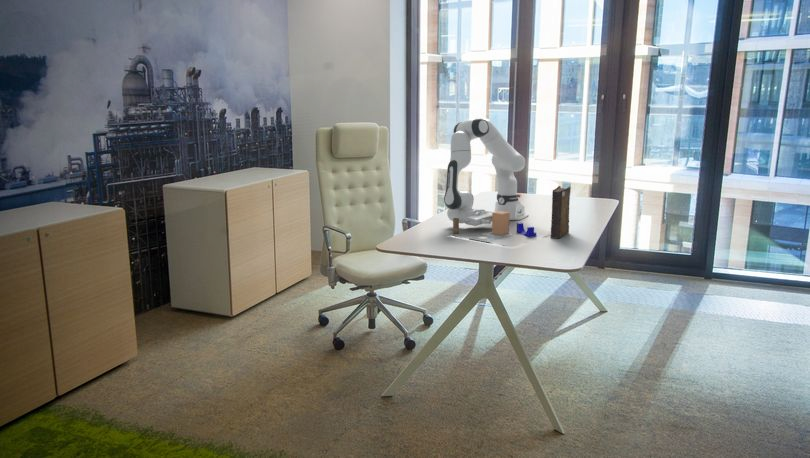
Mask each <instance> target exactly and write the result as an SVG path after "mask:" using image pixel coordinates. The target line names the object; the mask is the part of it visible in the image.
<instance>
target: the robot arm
mask: <svg viewBox="0 0 810 458" xmlns="http://www.w3.org/2000/svg"><path fill="white" fill-rule="evenodd" d="M475 139H479V140H480V141H481V142H482V144H483V145H484V147H485V148H486V149H487V151H488V152H489V153H490V154H492V157H491V164H492V165H493V168H494V170H495V172H496V173H495V174H496V176H497V177H496V178H497V194H496V202H495V205H494V211H487V210H486V209H477V208H476V209H475V208H473V205H474V199H475V198H474V195H473V193H472V192H471V191H469V190H459V189H458V185H459V183H458V182H459V175H460V172H461V171H462V170H463V169H465V168H467V167H468V166H469V165H470V163H471V160H472V147H471V141H472V140H473V141H474V140H475ZM449 159H450V160H449V162H448V164H447V170H446V185H445V193H444V196H443V203H444V204H445V206H446V209H447V208H448V209H447V210H446V211H447V217H448V219H449V220H450V221H451V222H453V218H459V224H461V225H463V224H465V225H467V226H474V227H476V226H477V227H478V226H481V225H490V224H492V213H493V212H497V211H504V212H510V220H509V221H514V220H515V221H521V220H523V219H525V218H527V217H529V214H528V213H526V212H525V210H526V209H525V205H523V203H521V201H519V198H521V196H522V195H521V194H520V193H518V180H517V178H516V177H515V172H516V173H517V172H520V171H522V170H524V168H525V167H526V159H525V157H524V156H523V155H522V154H521V153H519V152H518V151H517V150H516V149H515V148H514V147H513V146H512V145H511V144H510V143H509V142H508V141H507V140H506V139H505V138H504V136H503V135H502V134H501V132H500V131H499V129H498V128H497V126H496V125H494V123H493V122H491V120H489V119H488V118H483V117H475V118H470V119H469V118H468V119H467V120H463V121H461V122H458V123H457V124H455V126H454V128H453V134H452V135H451V139H450V157H449Z"/></svg>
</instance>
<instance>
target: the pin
mask: <svg viewBox="0 0 810 458" xmlns="http://www.w3.org/2000/svg"><path fill="white" fill-rule="evenodd" d="M459 233H460V223H459V218H453V221H452V234H453V235H452V236H453V237H455V235H459Z"/></svg>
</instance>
